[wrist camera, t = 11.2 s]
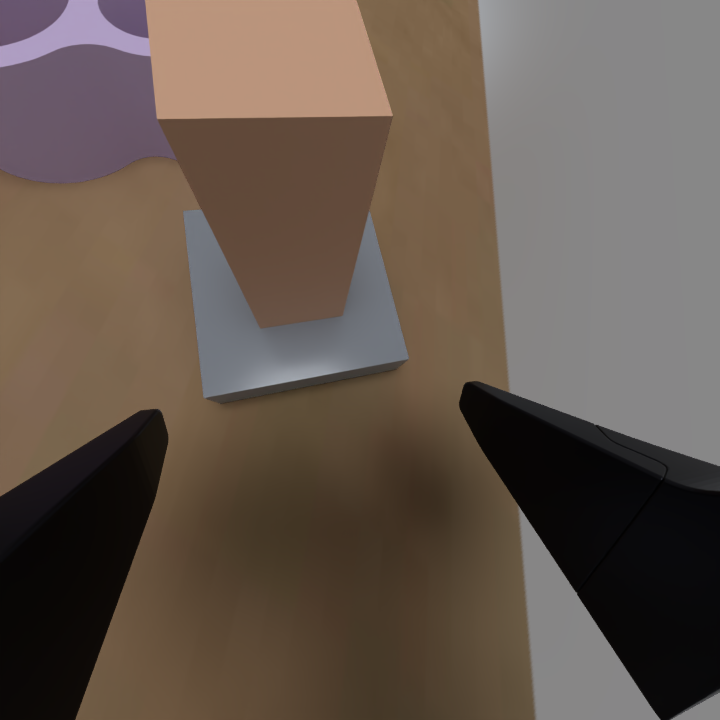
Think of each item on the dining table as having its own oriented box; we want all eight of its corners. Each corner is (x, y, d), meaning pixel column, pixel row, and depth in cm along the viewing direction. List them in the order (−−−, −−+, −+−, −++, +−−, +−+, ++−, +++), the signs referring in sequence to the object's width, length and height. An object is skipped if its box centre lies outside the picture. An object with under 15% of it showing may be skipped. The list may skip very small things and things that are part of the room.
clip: (239, 71, 26) (214, -54, 19) (245, 187, 23) (219, 89, 17) (-37, 48, 22) (-183, -115, 16) (-69, 183, 20) (-264, 54, 13)
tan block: (342, 315, 18) (392, 116, 7) (260, 328, 17) (156, 118, 6) (326, 246, 19) (347, -29, 8) (248, 254, 18) (140, -48, 7)
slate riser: (395, 369, 21) (409, 358, 18) (220, 403, 19) (203, 398, 16) (359, 227, 24) (366, 198, 21) (200, 241, 21) (183, 210, 18)
